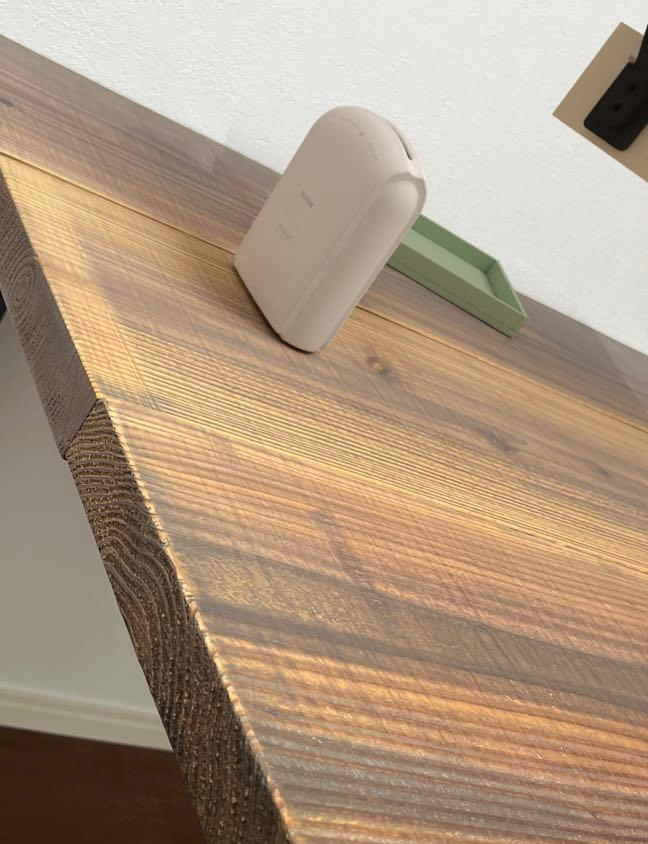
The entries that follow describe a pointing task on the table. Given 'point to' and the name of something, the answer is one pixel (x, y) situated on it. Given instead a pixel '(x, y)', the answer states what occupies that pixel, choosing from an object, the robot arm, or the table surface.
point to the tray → (459, 274)
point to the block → (644, 152)
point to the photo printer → (331, 224)
